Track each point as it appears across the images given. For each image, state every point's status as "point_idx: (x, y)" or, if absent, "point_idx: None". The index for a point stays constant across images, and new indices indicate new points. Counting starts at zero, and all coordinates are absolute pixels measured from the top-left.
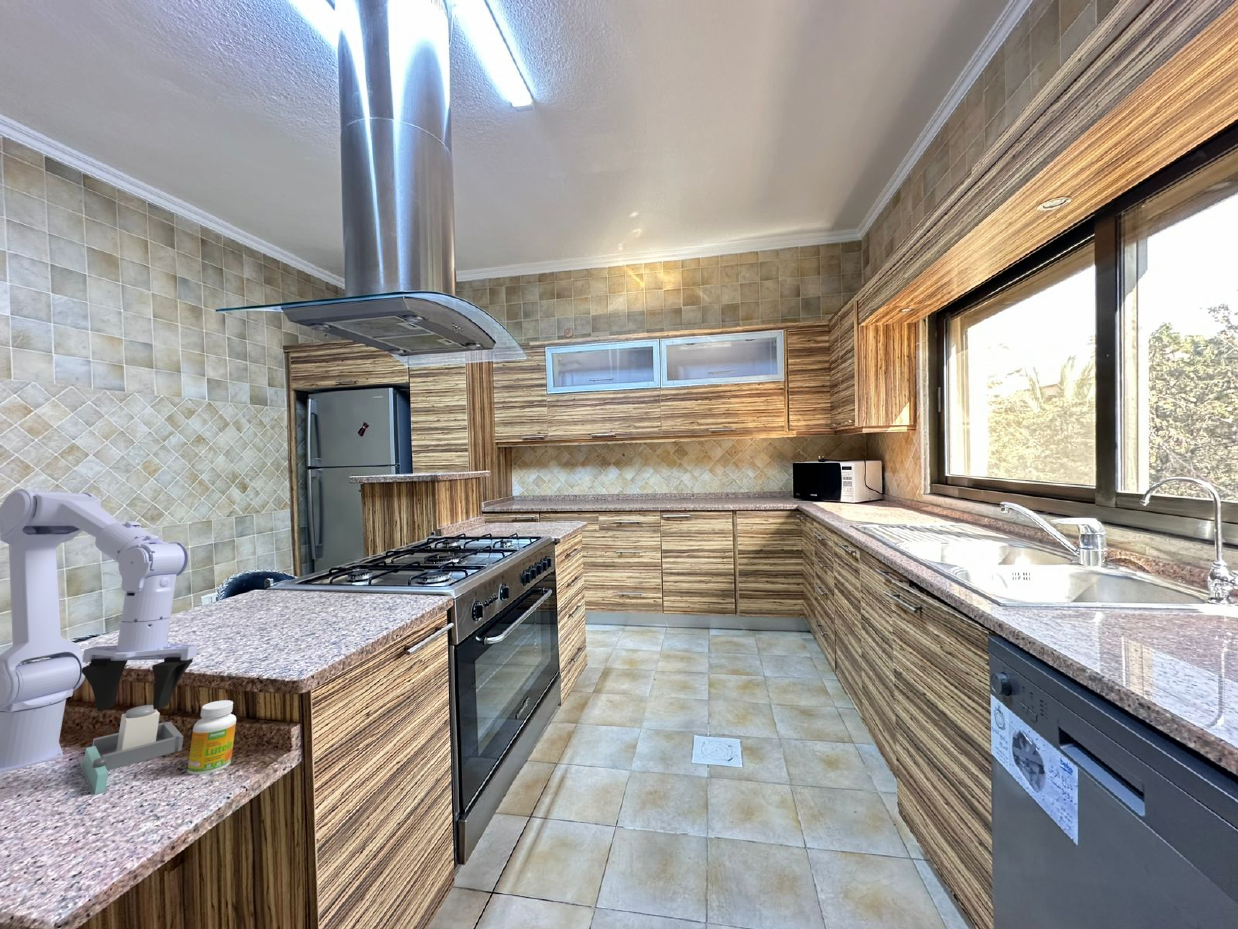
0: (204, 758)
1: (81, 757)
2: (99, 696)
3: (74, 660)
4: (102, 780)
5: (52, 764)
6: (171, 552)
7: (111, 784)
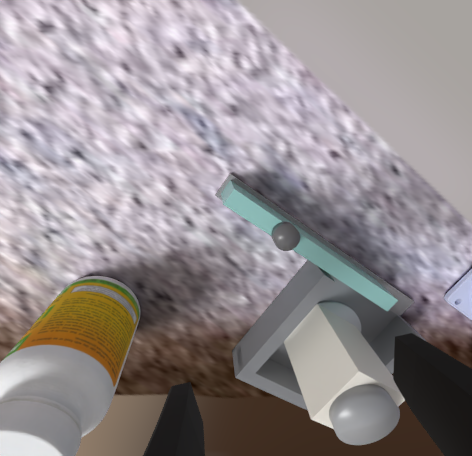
0: (58, 300)
1: (407, 303)
2: (464, 384)
3: None
4: (227, 193)
5: (441, 279)
6: None
7: (246, 226)
